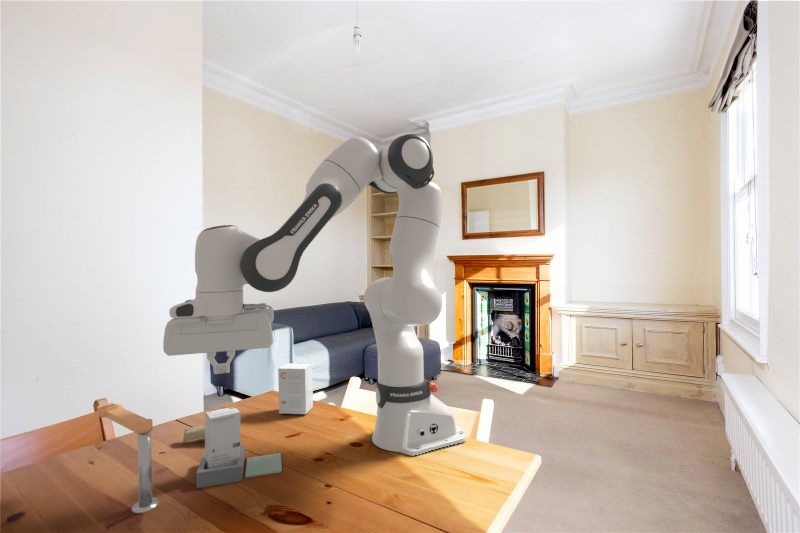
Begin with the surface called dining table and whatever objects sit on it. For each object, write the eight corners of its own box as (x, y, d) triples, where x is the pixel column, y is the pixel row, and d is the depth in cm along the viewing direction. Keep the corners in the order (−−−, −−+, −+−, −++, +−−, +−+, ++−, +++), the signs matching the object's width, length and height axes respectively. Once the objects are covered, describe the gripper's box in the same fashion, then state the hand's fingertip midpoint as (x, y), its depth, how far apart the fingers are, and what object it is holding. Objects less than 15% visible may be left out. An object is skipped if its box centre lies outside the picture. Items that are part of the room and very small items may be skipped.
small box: (313, 406, 119) (312, 363, 119) (305, 414, 112) (305, 368, 112) (287, 406, 120) (286, 362, 120) (278, 414, 113) (277, 368, 113)
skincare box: (209, 480, 78) (208, 418, 78) (204, 471, 82) (203, 412, 82) (241, 470, 82) (241, 411, 82) (235, 462, 85) (235, 405, 85)
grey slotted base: (244, 458, 87) (244, 444, 87) (241, 481, 78) (241, 466, 78) (204, 464, 85) (204, 450, 85) (196, 489, 75) (196, 473, 75)
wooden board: (92, 413, 78) (92, 405, 78) (116, 407, 81) (116, 399, 81) (134, 436, 67) (133, 427, 67) (159, 428, 71) (159, 419, 71)
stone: (233, 430, 102) (233, 411, 101) (235, 440, 96) (235, 420, 96) (183, 438, 96) (183, 419, 96) (182, 450, 91) (182, 429, 91)
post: (161, 499, 72) (160, 426, 72) (155, 512, 69) (154, 435, 68) (135, 503, 71) (134, 429, 71) (128, 516, 67) (127, 438, 67)
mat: (280, 454, 89) (280, 452, 89) (281, 472, 81) (281, 470, 81) (247, 459, 87) (247, 457, 87) (245, 478, 79) (245, 476, 79)
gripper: (273, 301, 88) (274, 364, 88) (168, 306, 81) (169, 374, 81) (273, 304, 82) (275, 371, 82) (159, 309, 75) (161, 382, 75)
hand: (221, 373), depth 81 cm, fingers closed
